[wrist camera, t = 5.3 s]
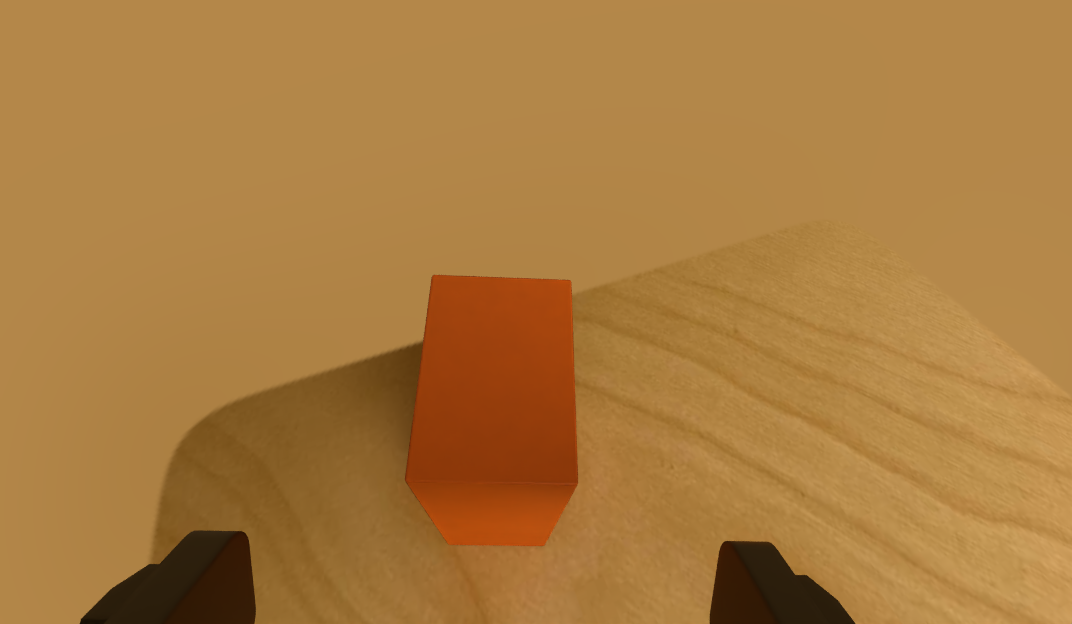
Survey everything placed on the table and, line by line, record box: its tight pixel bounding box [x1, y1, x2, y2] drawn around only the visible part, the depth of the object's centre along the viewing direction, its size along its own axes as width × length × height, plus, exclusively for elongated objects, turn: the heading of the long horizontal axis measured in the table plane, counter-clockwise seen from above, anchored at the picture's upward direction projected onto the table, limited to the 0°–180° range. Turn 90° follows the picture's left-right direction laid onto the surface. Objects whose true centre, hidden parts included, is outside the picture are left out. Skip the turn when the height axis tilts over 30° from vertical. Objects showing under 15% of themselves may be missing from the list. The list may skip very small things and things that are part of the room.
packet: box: [405, 275, 578, 546], centre depth 16 cm, size 4×5×10 cm
